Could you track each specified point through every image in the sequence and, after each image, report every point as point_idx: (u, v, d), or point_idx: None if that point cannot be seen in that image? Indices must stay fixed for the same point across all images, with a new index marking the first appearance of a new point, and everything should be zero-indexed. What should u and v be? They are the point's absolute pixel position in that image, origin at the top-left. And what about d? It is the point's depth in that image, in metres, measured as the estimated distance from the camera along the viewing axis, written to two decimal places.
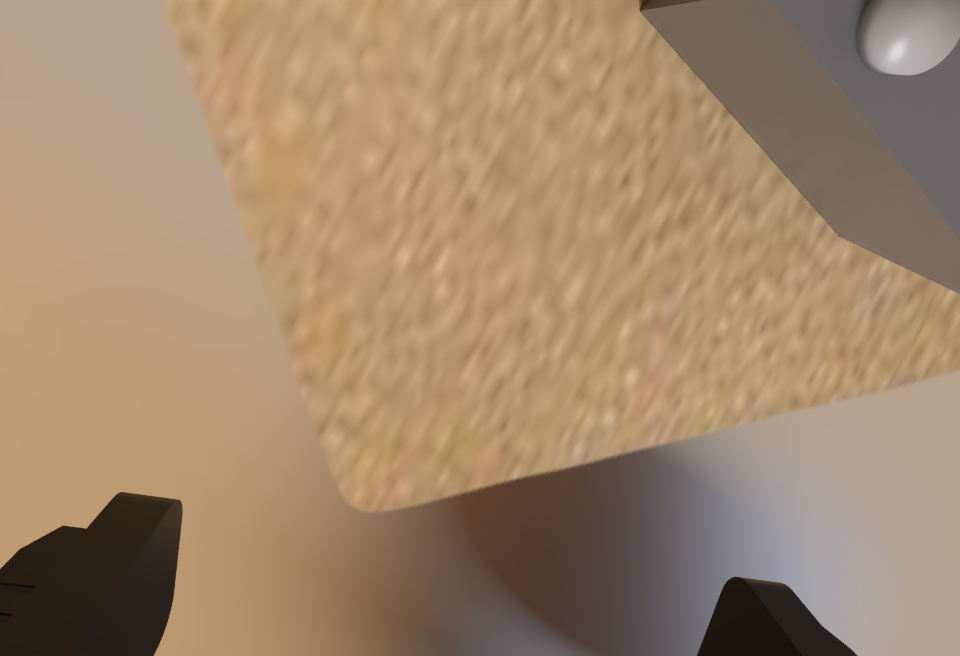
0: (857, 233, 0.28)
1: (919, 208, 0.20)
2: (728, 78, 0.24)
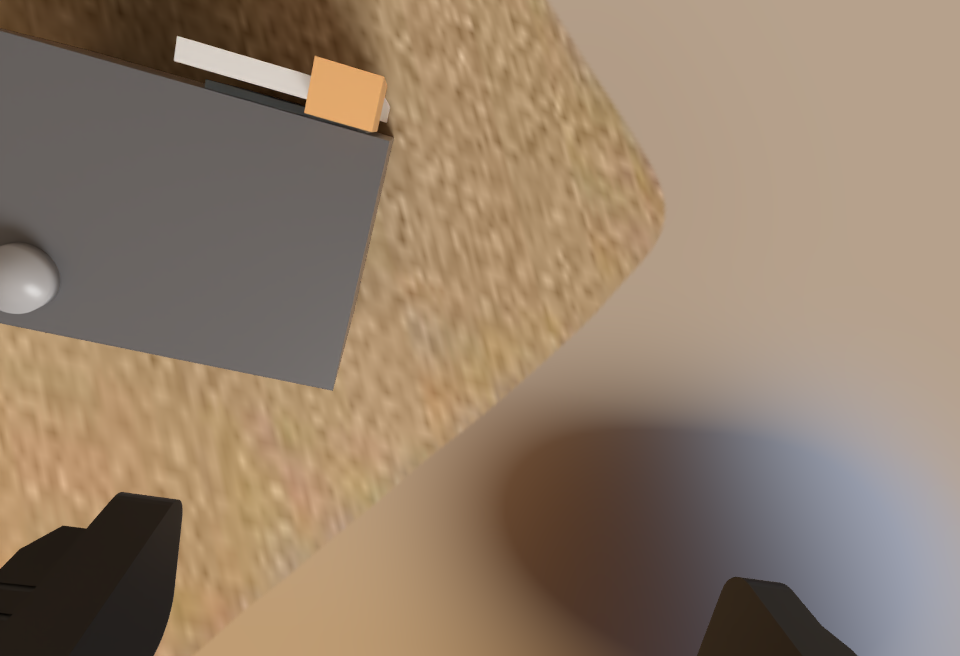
0: None
1: None
2: None
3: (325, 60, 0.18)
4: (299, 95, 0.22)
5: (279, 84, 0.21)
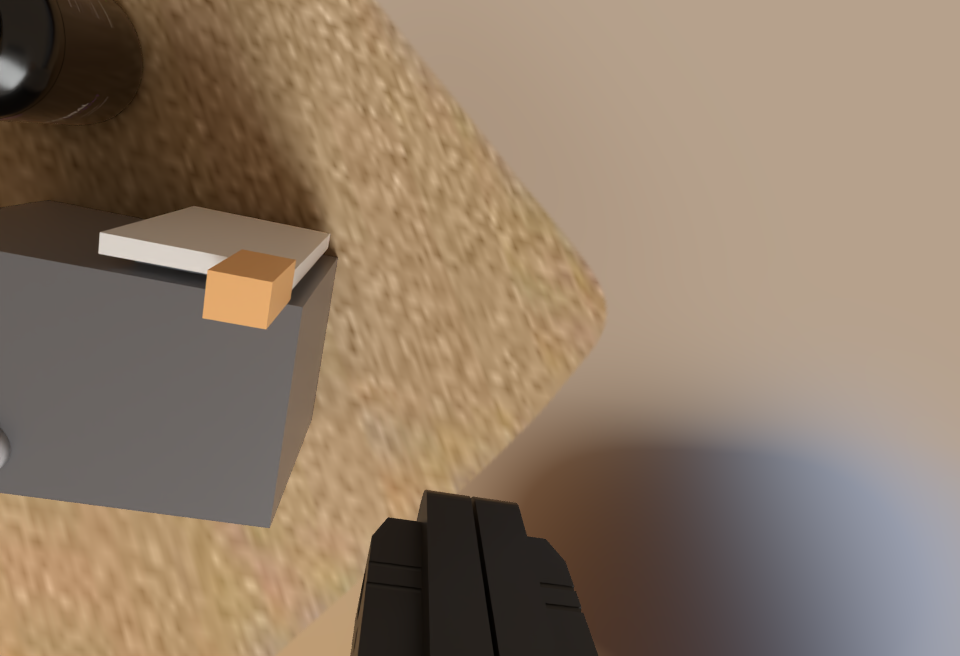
0: None
1: None
2: None
3: (217, 273, 0.20)
4: None
5: (196, 266, 0.23)
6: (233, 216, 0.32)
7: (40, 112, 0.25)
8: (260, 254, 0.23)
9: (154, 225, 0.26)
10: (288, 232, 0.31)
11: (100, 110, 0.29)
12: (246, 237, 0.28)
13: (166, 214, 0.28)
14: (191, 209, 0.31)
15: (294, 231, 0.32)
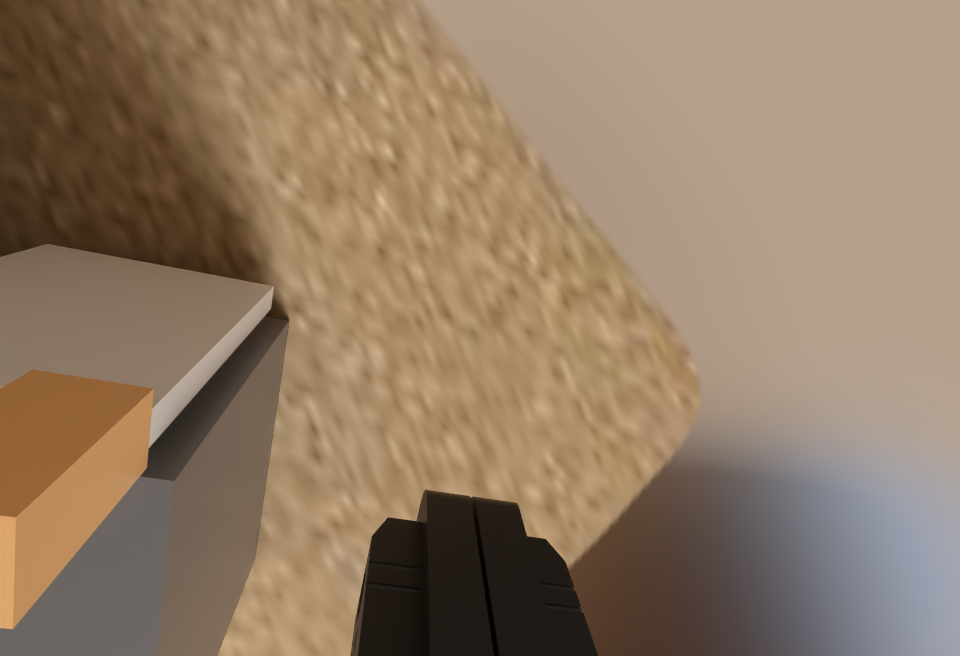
0: None
1: None
2: None
3: None
4: None
5: None
6: (109, 262, 0.19)
7: None
8: (69, 382, 0.11)
9: None
10: (196, 291, 0.18)
11: None
12: (99, 313, 0.15)
13: None
14: (34, 252, 0.19)
15: (209, 287, 0.19)
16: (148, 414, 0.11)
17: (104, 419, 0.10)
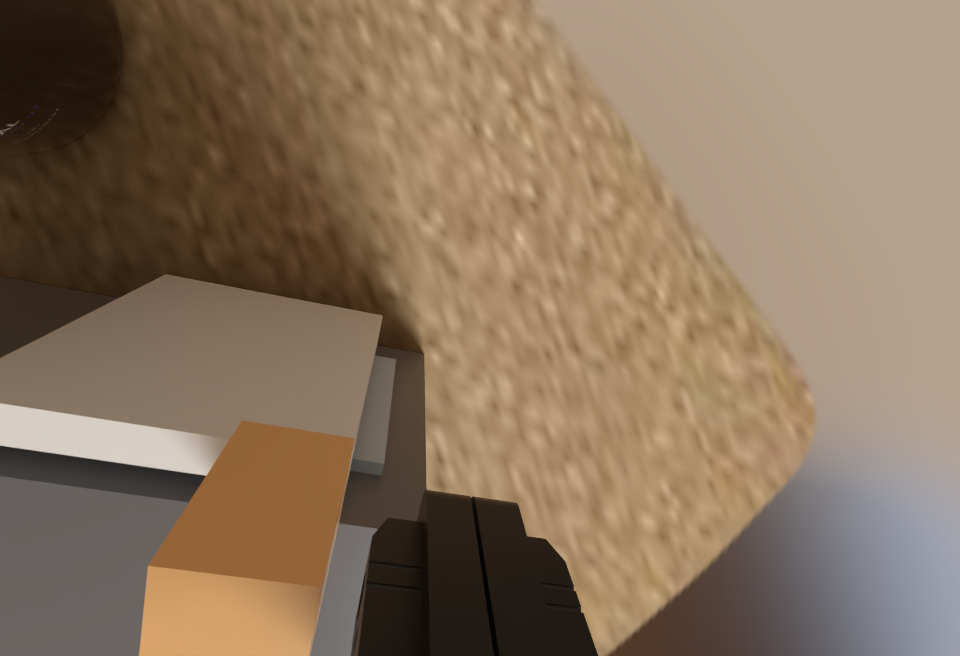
0: None
1: None
2: None
3: (174, 573, 0.07)
4: (186, 469, 0.11)
5: (144, 456, 0.11)
6: (229, 293, 0.19)
7: None
8: (281, 434, 0.11)
9: (75, 343, 0.13)
10: (320, 324, 0.19)
11: (46, 131, 0.17)
12: (250, 352, 0.15)
13: (110, 304, 0.16)
14: (159, 284, 0.19)
15: (328, 319, 0.19)
16: (349, 463, 0.11)
17: (333, 474, 0.10)
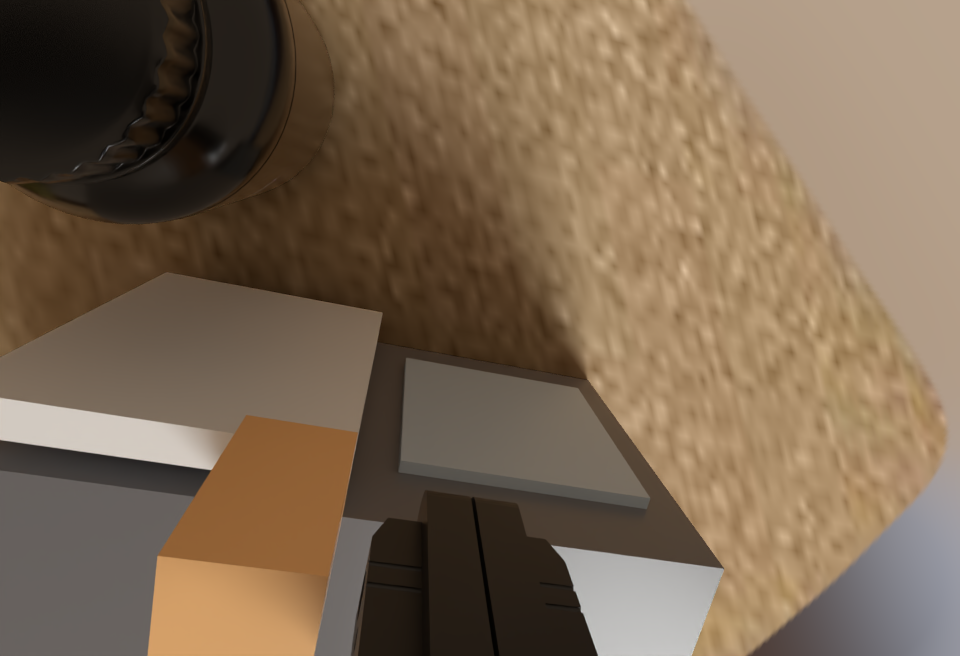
0: None
1: None
2: None
3: (183, 563, 0.07)
4: (191, 463, 0.11)
5: (150, 450, 0.11)
6: (229, 290, 0.20)
7: (226, 202, 0.14)
8: (285, 428, 0.11)
9: (78, 340, 0.14)
10: (320, 320, 0.19)
11: (282, 180, 0.18)
12: (252, 348, 0.15)
13: (112, 302, 0.16)
14: (160, 281, 0.19)
15: (329, 316, 0.19)
16: (353, 457, 0.11)
17: (337, 467, 0.10)
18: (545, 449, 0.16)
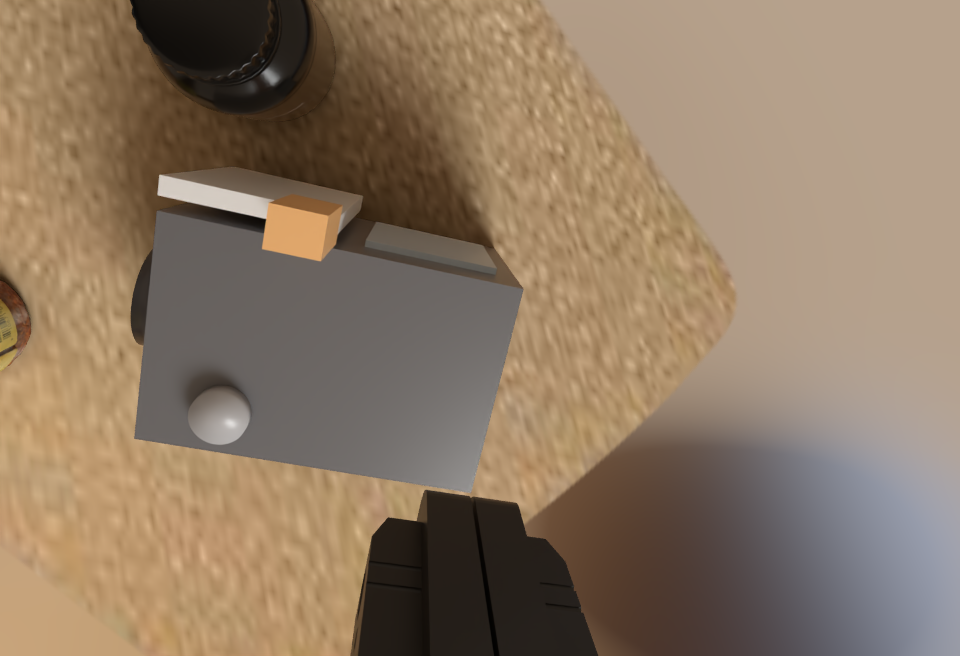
0: None
1: None
2: None
3: (277, 205, 0.21)
4: (266, 217, 0.25)
5: (248, 209, 0.25)
6: (272, 176, 0.33)
7: (279, 109, 0.28)
8: (309, 198, 0.25)
9: (205, 175, 0.27)
10: (325, 191, 0.32)
11: (305, 108, 0.32)
12: (289, 190, 0.29)
13: (212, 169, 0.30)
14: (232, 168, 0.32)
15: (330, 191, 0.33)
16: (340, 216, 0.25)
17: (332, 207, 0.24)
18: (447, 251, 0.30)
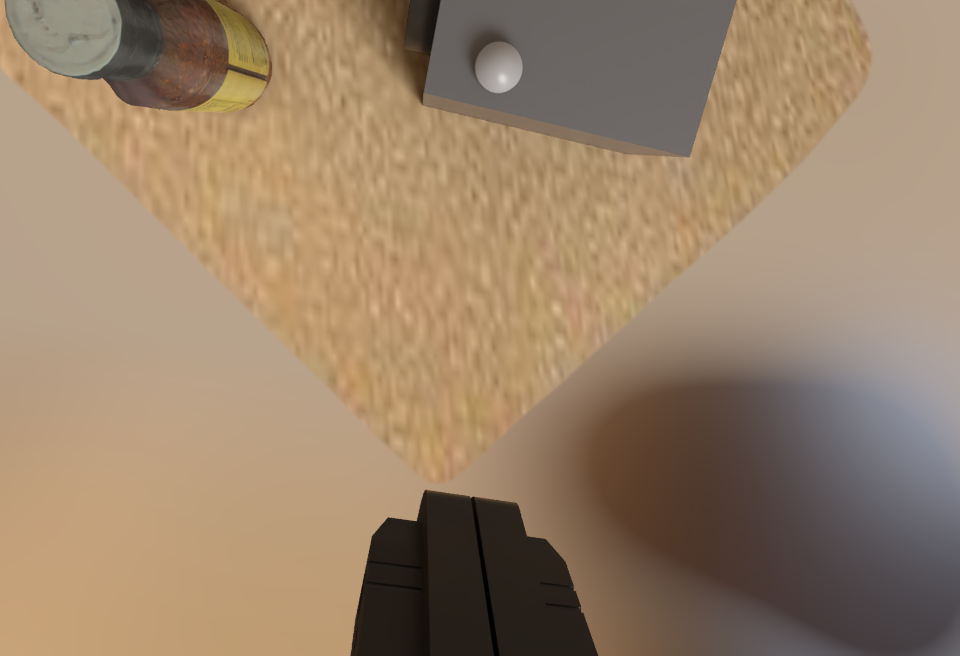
0: (619, 149, 0.42)
1: (585, 133, 0.35)
2: (480, 115, 0.40)
3: None
4: None
5: None
6: None
7: None
8: None
9: None
10: None
11: None
12: None
13: None
14: None
15: None
16: None
17: None
18: None
